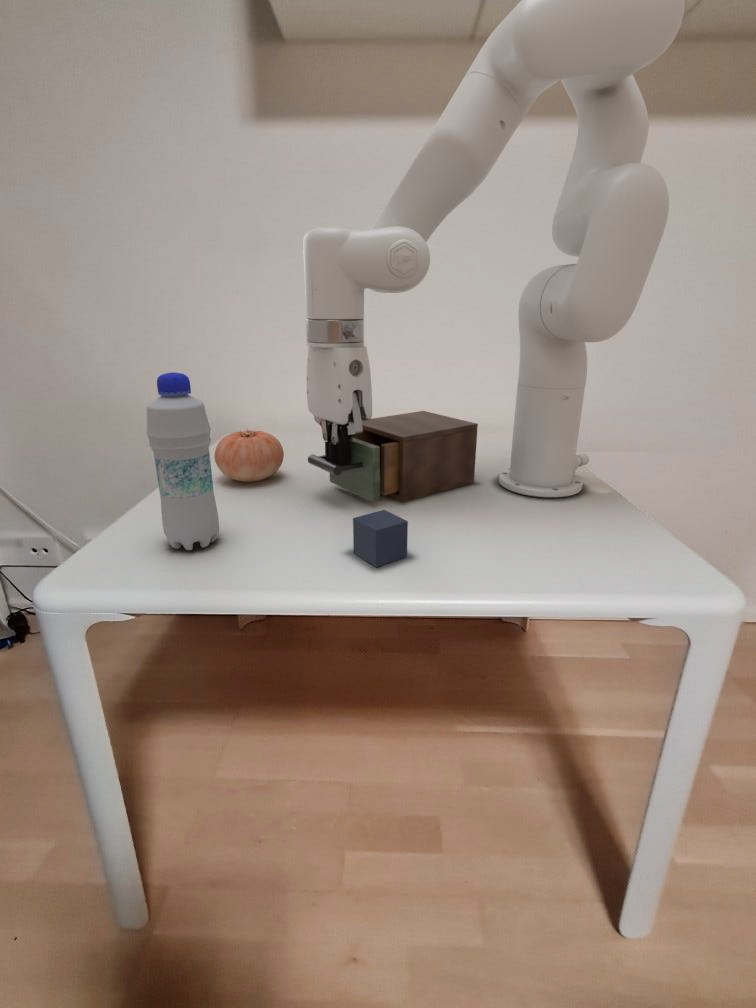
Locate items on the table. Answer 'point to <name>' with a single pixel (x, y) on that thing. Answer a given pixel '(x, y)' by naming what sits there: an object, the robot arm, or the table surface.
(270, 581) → the table surface
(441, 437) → the cabinet
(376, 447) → the drawer
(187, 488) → the bottle
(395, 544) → the block
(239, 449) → the orange pumpkin
